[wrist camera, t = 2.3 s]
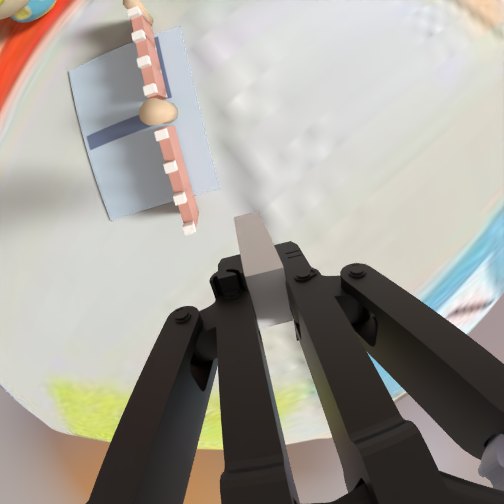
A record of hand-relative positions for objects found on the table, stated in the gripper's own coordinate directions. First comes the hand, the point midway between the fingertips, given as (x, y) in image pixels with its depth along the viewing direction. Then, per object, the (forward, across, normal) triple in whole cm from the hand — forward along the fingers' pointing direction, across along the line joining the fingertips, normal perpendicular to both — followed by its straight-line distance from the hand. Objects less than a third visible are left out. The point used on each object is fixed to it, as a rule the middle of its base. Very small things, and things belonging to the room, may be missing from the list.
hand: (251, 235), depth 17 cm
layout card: (+16, -9, +9) cm, 21 cm away
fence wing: (+15, -5, +3) cm, 16 cm away
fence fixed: (+16, -5, +15) cm, 23 cm away
